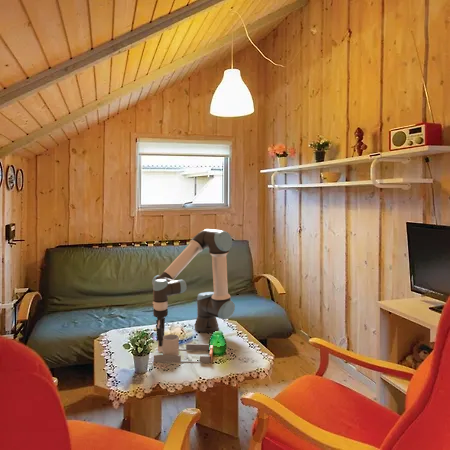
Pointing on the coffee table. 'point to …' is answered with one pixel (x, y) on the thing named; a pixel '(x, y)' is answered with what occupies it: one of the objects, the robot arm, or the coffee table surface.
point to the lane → (188, 347)
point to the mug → (170, 344)
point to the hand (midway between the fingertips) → (160, 351)
